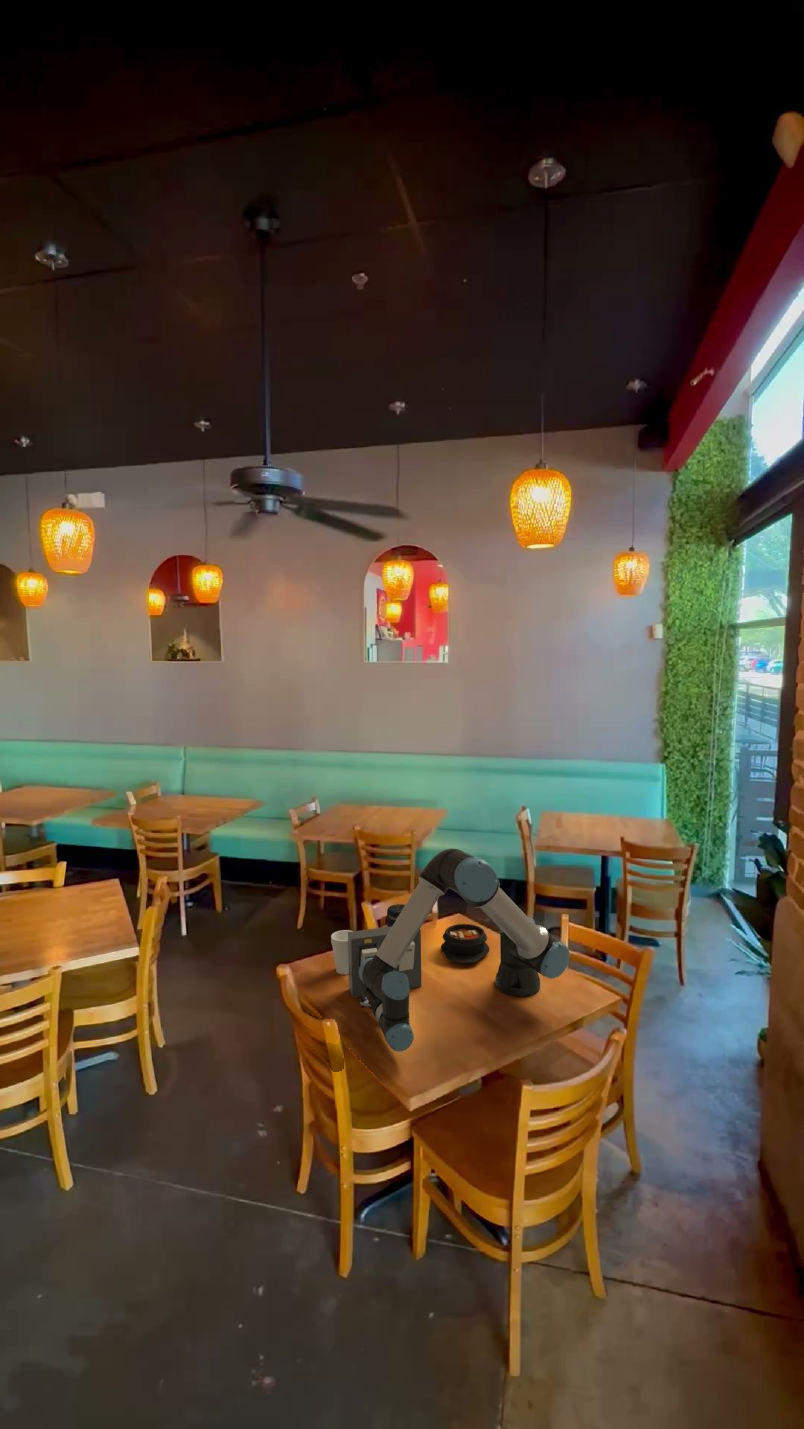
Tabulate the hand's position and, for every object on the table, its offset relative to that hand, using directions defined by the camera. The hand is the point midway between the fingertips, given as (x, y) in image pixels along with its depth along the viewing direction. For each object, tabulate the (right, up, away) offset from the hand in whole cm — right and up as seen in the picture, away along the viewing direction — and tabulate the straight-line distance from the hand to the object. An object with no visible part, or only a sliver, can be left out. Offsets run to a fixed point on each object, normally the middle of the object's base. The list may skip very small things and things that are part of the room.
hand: (367, 975), depth 212 cm
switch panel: (+4, -6, +10) cm, 12 cm away
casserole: (+35, -4, +32) cm, 48 cm away
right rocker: (+13, +1, +4) cm, 13 cm away
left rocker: (0, +1, +1) cm, 1 cm away
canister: (+11, -4, +34) cm, 36 cm away
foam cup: (-9, -6, +19) cm, 22 cm away
